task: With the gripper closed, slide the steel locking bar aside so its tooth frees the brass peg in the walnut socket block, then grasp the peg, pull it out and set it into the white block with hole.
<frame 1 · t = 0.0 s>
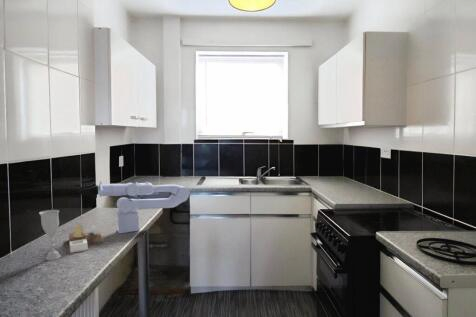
hand: (79, 190, 164), 22 cm above the countertop, tool horizontal, fingers open, 7 cm apart
peg: (79, 236, 157), point 3 cm above the countertop, touching socket block
socket block: (79, 243, 157), on the countertop
chalice: (53, 258, 140), on the countertop
locking bar: (89, 230, 162), point 4 cm above the countertop, slide at 0.0 cm
white block with hole: (78, 249, 149), on the countertop
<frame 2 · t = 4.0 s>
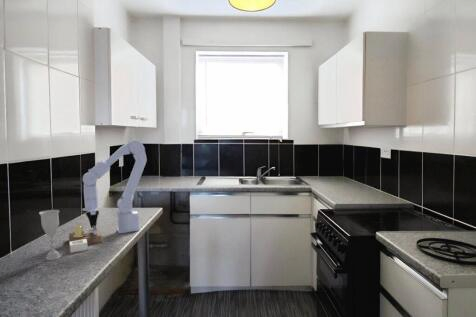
hand: (93, 227, 168), 4 cm above the countertop, tool pointing down, fingers closed
locking bar: (89, 230, 162), point 4 cm above the countertop, slide at 0.2 cm, touching gripper
everything else where it was.
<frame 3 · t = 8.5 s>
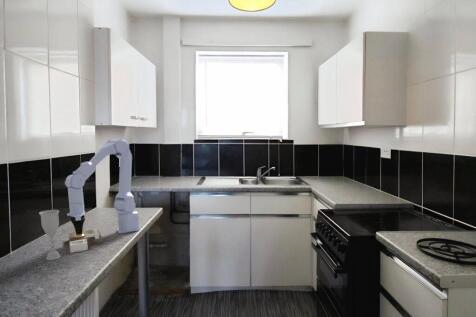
hand: (79, 233, 157), 4 cm above the countertop, tool pointing down, fingers closed on peg, 3 cm apart
peg: (79, 236, 157), point 3 cm above the countertop, touching gripper, socket block
locking bar: (91, 234, 155), point 4 cm above the countertop, slide at 7.0 cm
everything else where it was.
when the fingers open (6 cm above the countertop, at t = 11.8 s): peg drops 1 cm, resting on white block with hole.
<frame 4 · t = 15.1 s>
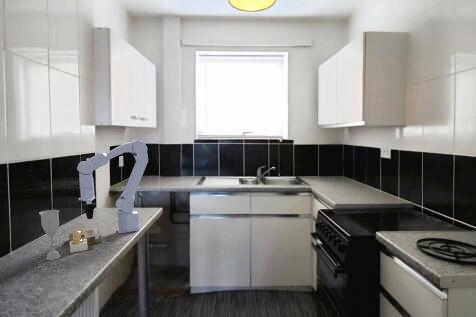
hand: (89, 217, 165), 9 cm above the countertop, tool pointing down, fingers open, 7 cm apart
peg: (77, 242, 149), point 3 cm above the countertop, touching white block with hole
everything else where it was.
at the end: locking bar slide at 7.0 cm; peg 0.0 cm off-centre on the white block with hole, point 3.0 cm above the white block with hole's base; peg tilted 0° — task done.
